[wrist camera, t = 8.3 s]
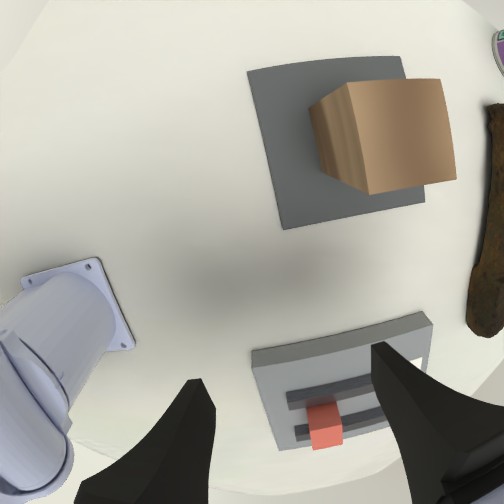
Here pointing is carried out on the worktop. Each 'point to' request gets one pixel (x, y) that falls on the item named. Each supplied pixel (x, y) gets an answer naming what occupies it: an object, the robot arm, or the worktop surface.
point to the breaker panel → (333, 377)
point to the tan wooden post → (385, 134)
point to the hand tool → (491, 246)
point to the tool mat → (303, 139)
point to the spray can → (499, 49)
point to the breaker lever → (325, 425)
